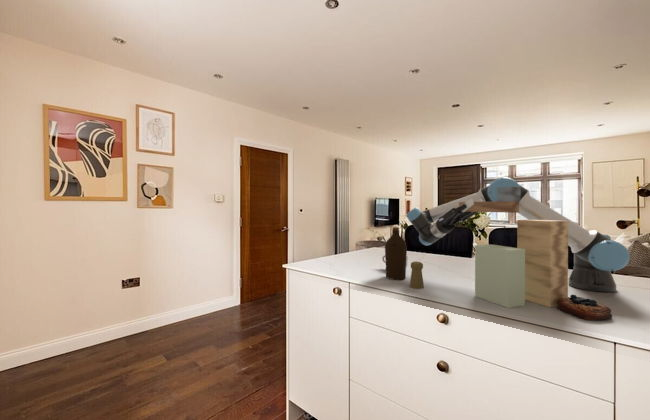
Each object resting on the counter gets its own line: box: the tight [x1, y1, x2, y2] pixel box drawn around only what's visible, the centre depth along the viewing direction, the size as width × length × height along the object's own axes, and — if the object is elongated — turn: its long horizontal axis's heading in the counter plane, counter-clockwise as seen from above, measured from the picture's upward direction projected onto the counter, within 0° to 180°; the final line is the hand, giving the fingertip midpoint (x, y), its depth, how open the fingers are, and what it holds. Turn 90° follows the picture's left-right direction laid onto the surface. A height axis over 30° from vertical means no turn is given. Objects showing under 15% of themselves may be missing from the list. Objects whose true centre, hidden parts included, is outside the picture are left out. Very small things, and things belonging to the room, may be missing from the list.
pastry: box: [556, 294, 613, 322], centre depth 92 cm, size 11×12×6 cm
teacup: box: [381, 254, 409, 268], centre depth 159 cm, size 14×11×8 cm
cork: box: [409, 260, 425, 290], centre depth 124 cm, size 6×6×11 cm
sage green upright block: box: [474, 243, 526, 309], centre depth 105 cm, size 8×14×20 cm, turn 18°
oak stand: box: [516, 219, 569, 308], centre depth 105 cm, size 9×12×30 cm
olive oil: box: [384, 226, 408, 281], centre depth 140 cm, size 11×11×25 cm
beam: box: [459, 187, 521, 214], centre depth 111 cm, size 5×24×9 cm, turn 18°
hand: (477, 201), depth 115 cm, fingers closed on beam, 4 cm apart
